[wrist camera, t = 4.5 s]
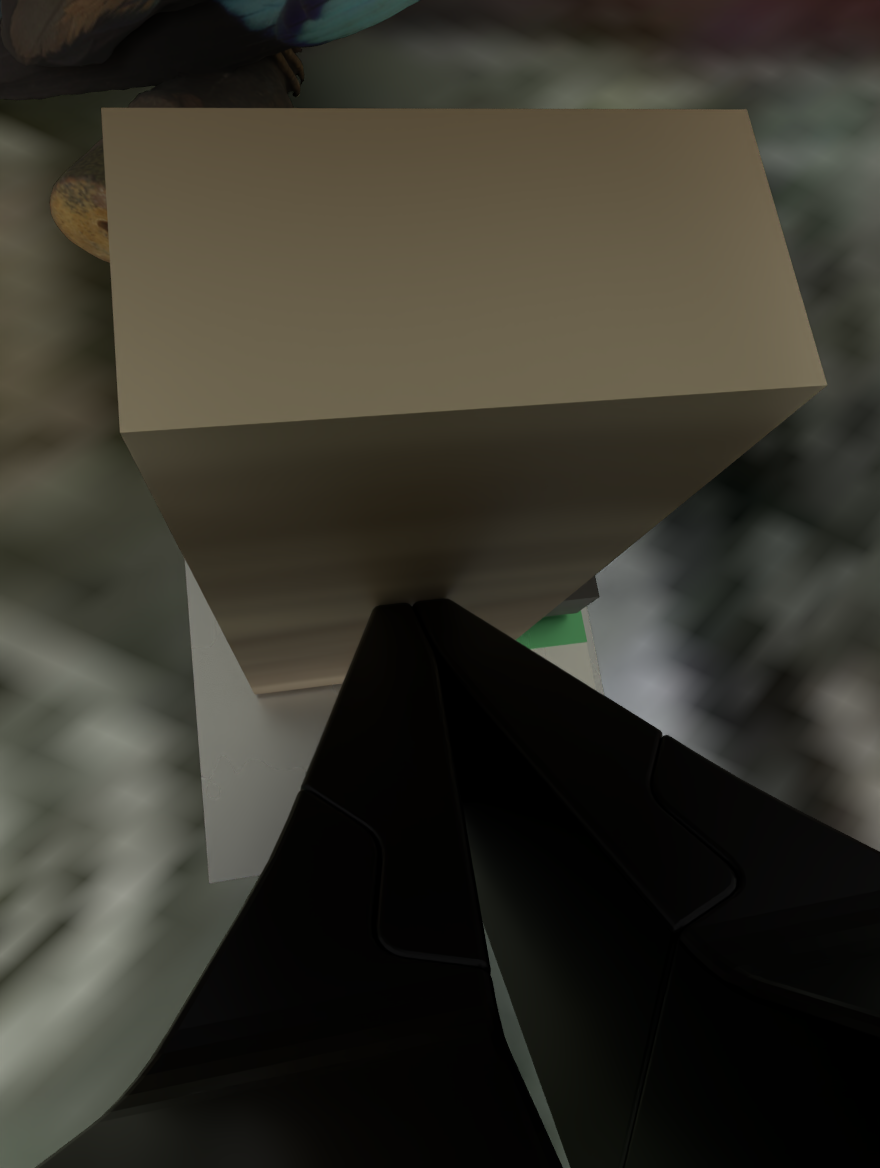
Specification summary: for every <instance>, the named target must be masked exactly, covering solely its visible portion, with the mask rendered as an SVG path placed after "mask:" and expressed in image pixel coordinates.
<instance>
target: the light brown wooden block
mask: <svg viewBox="0 0 880 1168" xmlns="http://www.w3.org/2000/svg"><path fill="white" fill-rule="evenodd" d="M101 114H102V132H103V149H104V166H105V183H106V201H107V218H108V235H109V252H110V270H111V287H112V304H113V321H114V339H115V356H116V373H117V390H118V408H119V425H120V434H121V436H122V438H123V440H124V442H125V444H126V446H127V448H128V449H129V451H130V453H131V455H132V457H133V459H134V461H135V463H136V465H137V467H138V469H139V471H140V473H141V475H142V477H143V479H144V481H145V482H146V484H147V486H148V488H149V490H150V492H151V494H152V496H153V498H154V500H155V502H156V504H157V506H158V508H159V510H160V512H161V514H162V515H163V517H164V519H165V521H166V523H167V525H168V527H169V529H170V531H171V533H172V535H173V537H174V539H175V541H176V543H177V545H178V547H179V549H180V550H181V552H182V554H183V556H184V558H185V560H186V562H187V564H188V566H189V568H190V570H191V572H192V574H193V576H194V578H195V580H196V582H197V583H198V585H199V587H200V589H201V591H202V593H203V595H204V597H205V599H206V601H207V603H208V605H209V607H210V609H211V611H212V613H213V615H214V617H215V618H216V620H217V622H218V624H219V626H220V628H221V630H222V632H223V634H224V636H225V638H226V640H227V642H228V644H229V646H230V648H231V650H232V651H233V653H234V655H235V657H236V659H237V661H238V663H239V665H240V667H241V669H242V671H243V673H244V675H245V677H246V679H247V681H248V683H249V684H250V686H251V688H252V690H253V692H254V694H263V693H271V692H279V691H287V690H295V689H302V688H310V687H318V686H326V685H334V684H342V683H343V681H344V679H345V676H346V674H347V671H348V669H349V666H350V664H351V661H352V659H353V656H354V654H355V651H356V649H357V646H358V644H359V642H360V639H361V637H362V634H363V632H364V629H365V627H366V624H367V622H368V619H369V617H370V614H371V612H372V610H373V608H375V607H376V606H379V605H388V604H397V603H408V604H410V605H411V606H413V604H414V603H415V602H418V601H424V600H433V599H442V598H447V599H450V600H452V601H454V602H455V603H457V604H459V605H460V606H462V607H463V608H465V609H467V610H468V611H470V612H471V613H473V614H475V615H476V616H478V617H479V618H481V619H483V620H484V621H486V622H487V623H489V624H491V625H492V626H494V627H495V628H497V629H499V630H500V631H502V632H503V633H505V634H507V635H508V636H510V637H511V638H513V639H515V640H516V639H517V638H519V637H520V636H521V635H522V634H524V633H525V632H526V631H527V630H528V629H530V628H531V627H532V626H533V625H535V624H536V623H537V622H538V621H539V620H541V619H542V618H543V617H548V616H557V615H565V614H574V613H578V612H579V611H580V610H582V609H583V608H585V607H586V606H587V605H589V604H590V603H591V602H593V601H594V600H596V599H597V598H598V597H599V593H598V588H597V583H596V578H595V575H596V574H597V573H598V572H599V571H601V570H602V569H603V568H604V567H606V566H607V565H608V564H609V563H610V562H612V561H613V560H614V559H615V558H617V557H618V556H619V555H620V554H621V553H623V552H624V551H625V550H626V549H628V548H629V547H630V546H631V545H632V544H634V543H635V542H636V541H637V540H639V539H640V538H641V537H642V536H643V535H645V534H646V533H647V532H648V531H650V530H651V529H652V528H653V527H654V526H656V525H657V524H658V523H659V522H661V521H662V520H663V519H664V518H666V517H667V516H668V515H669V514H670V513H672V512H673V511H674V510H675V509H677V508H678V507H679V506H680V505H681V504H683V503H684V502H685V501H686V500H688V499H689V498H690V497H691V496H692V495H694V494H695V493H696V492H697V491H699V490H700V489H701V488H702V487H703V486H705V485H706V484H707V483H708V482H710V481H711V480H712V479H713V478H714V477H716V476H717V475H718V474H719V473H721V472H722V471H723V470H724V469H725V468H727V467H728V466H729V465H730V464H732V463H733V462H734V461H735V460H736V459H738V458H739V457H740V456H741V455H743V454H744V453H745V452H746V451H747V450H749V449H750V448H751V447H752V446H754V445H755V444H756V443H757V442H759V441H760V440H761V439H762V438H763V437H765V436H766V435H767V434H768V433H770V432H771V431H772V430H773V429H774V428H776V427H777V426H778V425H779V424H781V423H782V422H783V421H784V420H785V419H787V418H788V417H789V416H790V415H792V414H793V413H794V412H795V411H796V410H798V409H799V408H800V407H801V406H803V405H804V404H805V403H806V402H807V401H809V400H810V399H811V398H812V397H814V396H815V395H816V394H817V393H818V392H820V391H821V390H822V389H823V388H825V387H826V386H827V382H826V379H825V375H824V372H823V369H822V365H821V362H820V358H819V355H818V352H817V348H816V345H815V341H814V338H813V334H812V331H811V328H810V324H809V321H808V317H807V314H806V311H805V307H804V304H803V300H802V297H801V293H800V290H799V287H798V283H797V280H796V276H795V273H794V269H793V266H792V263H791V259H790V256H789V252H788V249H787V246H786V242H785V239H784V235H783V232H782V228H781V225H780V222H779V218H778V215H777V211H776V208H775V204H774V201H773V198H772V194H771V191H770V187H769V184H768V181H767V177H766V174H765V170H764V167H763V163H762V160H761V157H760V153H759V150H758V146H757V143H756V139H755V136H754V133H753V129H752V126H751V122H750V119H749V116H748V112H747V110H720V109H376V108H101Z"/></svg>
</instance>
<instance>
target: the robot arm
mask: <svg viewBox="0 0 880 1168" xmlns="http://www.w3.org/2000/svg"><path fill="white" fill-rule="evenodd" d="M300 790H301V791H299V792H298V794H297V796H296V798H295V801H294V803H293V806H292V808H291V811H290V813H289V816H288V818H287V820H286V823H285V825H284V827H283V829H282V831H281V833H280V836H279V838H278V840H277V842H276V844H275V847H274V849H273V851H272V853H271V855H270V857H269V860H268V862H267V863H266V865H265V867H264V869H263V871H262V872H261V874H260V876H259V878H258V880H257V881H256V883H255V885H254V887H253V889H252V890H251V892H250V894H249V896H248V898H247V899H246V901H245V903H244V905H243V907H242V908H241V910H240V912H239V913H238V915H237V917H236V918H235V920H234V922H233V923H232V925H231V927H230V928H229V930H228V932H227V933H226V935H225V937H224V938H223V940H222V942H221V943H220V945H219V947H218V948H217V950H216V952H215V953H214V955H213V957H212V958H211V960H210V962H209V963H208V965H207V967H206V968H205V970H204V972H203V973H202V975H201V977H200V978H199V980H198V982H197V983H196V985H195V987H194V988H193V990H192V992H191V993H190V995H189V997H188V998H187V1000H186V1002H185V1003H184V1005H183V1007H182V1008H181V1010H180V1012H179V1013H178V1015H177V1017H176V1018H175V1020H174V1022H173V1023H172V1025H171V1027H170V1028H169V1030H168V1032H167V1033H166V1035H165V1037H164V1038H163V1040H162V1041H161V1043H160V1045H159V1046H158V1048H157V1049H156V1051H155V1053H154V1054H153V1056H152V1057H151V1059H150V1060H149V1062H148V1063H147V1064H146V1066H145V1067H144V1069H143V1070H142V1071H141V1073H140V1074H139V1075H138V1077H137V1078H136V1079H135V1081H134V1082H133V1083H132V1084H131V1085H130V1086H129V1088H128V1089H127V1090H126V1091H125V1092H124V1093H123V1095H122V1096H121V1097H120V1098H119V1099H118V1100H117V1101H116V1102H115V1103H114V1104H113V1105H112V1106H111V1107H110V1108H109V1109H108V1110H107V1111H106V1112H105V1113H104V1115H103V1116H102V1117H100V1118H99V1119H98V1120H97V1121H95V1122H94V1123H93V1124H92V1125H91V1126H89V1127H88V1128H87V1129H85V1130H84V1131H83V1132H81V1133H80V1134H79V1135H77V1136H76V1137H75V1138H73V1139H72V1140H71V1141H69V1142H68V1143H67V1144H65V1145H64V1146H63V1147H62V1148H60V1149H59V1150H58V1151H56V1152H55V1153H54V1154H52V1155H51V1156H50V1157H48V1158H47V1159H46V1160H44V1161H43V1162H42V1163H40V1164H39V1165H38V1166H36V1167H35V1168H563V1167H562V1165H561V1163H560V1160H559V1158H558V1156H557V1154H556V1151H555V1149H554V1147H553V1145H552V1143H551V1140H550V1138H549V1136H548V1134H547V1131H546V1129H545V1127H544V1125H543V1123H542V1120H541V1118H540V1116H539V1114H538V1111H537V1109H536V1107H535V1105H534V1103H533V1100H532V1098H531V1096H530V1094H529V1091H528V1089H527V1087H526V1085H525V1083H524V1080H523V1078H522V1076H521V1074H520V1072H519V1069H518V1067H517V1065H516V1063H515V1060H514V1058H513V1056H512V1054H511V1052H510V1049H509V1047H508V1044H507V1042H506V1039H505V1036H504V1032H503V1029H502V1025H501V1021H500V1017H499V1012H498V1007H497V1003H496V998H495V992H494V987H493V981H492V978H491V976H490V974H491V968H490V962H489V957H488V951H487V945H486V939H485V933H484V927H485V929H486V932H487V935H488V938H489V941H490V943H491V946H492V949H493V952H494V955H495V957H496V960H497V963H498V966H499V969H500V971H501V974H502V977H503V980H504V983H505V985H506V988H507V991H508V994H509V997H510V999H511V1002H512V1005H513V1008H514V1011H515V1013H516V1016H517V1019H518V1022H519V1025H520V1027H521V1030H522V1033H523V1036H524V1039H525V1041H526V1044H527V1047H528V1050H529V1053H530V1055H531V1058H532V1061H533V1064H534V1067H535V1069H536V1072H537V1075H538V1078H539V1081H540V1083H541V1086H542V1089H543V1092H544V1095H545V1097H546V1100H547V1103H548V1106H549V1109H550V1111H551V1114H552V1117H553V1120H554V1123H555V1125H556V1128H557V1131H558V1134H559V1137H560V1139H561V1142H562V1145H563V1148H564V1151H565V1153H566V1156H567V1159H568V1162H569V1165H570V1167H571V1168H880V852H879V851H877V850H875V849H873V848H871V847H869V846H867V845H865V844H863V843H861V842H859V841H858V840H856V839H854V838H852V837H850V836H848V835H846V834H844V833H842V832H840V831H838V830H836V829H834V828H832V827H830V826H828V825H826V824H824V823H822V822H821V821H819V820H817V819H815V818H813V817H811V816H809V815H807V814H805V813H803V812H801V811H799V810H797V809H795V808H793V807H792V806H790V805H788V804H786V803H784V802H782V801H780V800H779V799H777V798H775V797H773V796H771V795H769V794H767V793H766V792H764V791H762V790H760V789H758V788H756V787H754V786H753V785H751V784H749V783H747V782H745V781H743V780H741V779H740V778H738V777H736V776H735V775H733V774H731V773H730V772H728V771H726V770H725V769H723V768H721V767H720V766H718V765H716V764H714V763H713V762H711V761H709V760H708V759H706V758H704V757H703V756H701V755H699V754H698V753H696V752H694V751H693V750H691V749H690V748H688V747H686V746H685V745H683V744H682V743H680V742H678V741H677V740H675V739H674V738H672V737H670V736H669V735H664V736H663V737H662V732H661V731H660V730H659V729H657V728H655V727H654V726H652V725H651V724H649V723H647V722H646V721H644V720H643V719H641V718H639V717H638V716H636V715H635V714H633V713H631V712H630V711H628V710H627V709H625V708H623V707H622V706H620V705H619V704H617V703H615V702H614V701H612V700H611V699H609V698H607V697H606V696H604V695H603V694H601V693H599V692H598V691H596V690H595V689H593V688H591V687H590V686H588V685H587V684H585V683H583V682H582V681H580V680H579V679H577V678H575V677H574V676H572V675H571V674H569V673H567V672H566V671H564V670H563V669H561V668H559V667H558V666H556V665H555V664H553V663H551V662H550V661H548V660H547V659H545V658H543V657H542V656H540V655H539V654H537V653H535V652H534V651H532V650H531V649H529V648H527V647H526V646H524V645H523V644H521V643H519V642H518V641H516V640H515V639H513V638H511V637H510V636H508V635H507V634H505V633H503V632H502V631H500V630H499V629H497V628H495V627H494V626H492V625H491V624H489V623H487V622H486V621H484V620H483V619H481V618H479V617H478V616H476V615H475V614H473V613H471V612H470V611H468V610H467V609H465V608H463V607H462V606H460V605H459V604H457V603H455V602H454V601H452V600H450V599H447V598H442V599H433V600H424V601H418V602H415V603H414V604H413V606H411V605H410V604H408V603H397V604H388V605H379V606H376V607H375V608H373V610H372V612H371V614H370V617H369V619H368V622H367V624H366V627H365V629H364V632H363V634H362V637H361V639H360V642H359V644H358V646H357V649H356V651H355V654H354V656H353V659H352V661H351V664H350V666H349V669H348V671H347V674H346V676H345V679H344V681H343V683H342V686H341V688H340V691H339V693H338V696H337V698H336V701H335V703H334V706H333V708H332V711H331V713H330V716H329V718H328V720H327V723H326V725H325V728H324V730H323V733H322V735H321V738H320V740H319V743H318V745H317V748H316V750H315V753H314V755H313V757H312V760H311V762H310V765H309V767H308V770H307V772H306V775H305V777H304V780H303V782H302V785H301V789H300ZM483 924H484V927H483Z"/></svg>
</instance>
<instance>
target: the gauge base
mask: <svg viewBox="0 0 880 1168" xmlns="http://www.w3.org/2000/svg"><path fill="white" fill-rule="evenodd" d="M185 570H186V583H187V596H188V609H189V622H190V636H191V649H192V662H193V675H194V688H195V701H196V715H197V728H198V741H199V754H200V767H201V781H202V794H203V807H204V820H205V833H206V846H207V860H208V873H209V884H210V883H216V882H222V881H228V880H234V879H240V878H246V877H252V876H258V875H260V874H261V872H262V871H263V869H264V867H265V865H266V863H267V862H268V860H269V857H270V855H271V853H272V851H273V849H274V847H275V844H276V842H277V840H278V838H279V836H280V833H281V831H282V829H283V827H284V825H285V823H286V820H287V818H288V816H289V813H290V811H291V808H292V806H293V803H294V801H295V798H296V796H297V794H298V792H299V791H301V790H300V789H301V785H302V782H303V780H304V777H305V775H306V772H307V770H308V767H309V765H310V762H311V760H312V757H313V755H314V753H315V750H316V748H317V745H318V743H319V740H320V738H321V735H322V733H323V730H324V728H325V725H326V723H327V720H328V718H329V716H330V713H331V711H332V708H333V706H334V703H335V701H336V698H337V696H338V693H339V691H340V688H341V686H342V684H334V685H326V686H318V687H310V688H302V689H295V690H287V691H279V692H271V693H263V694H254V692H253V690H252V688H251V686H250V684H249V683H248V681H247V679H246V677H245V675H244V673H243V671H242V669H241V667H240V665H239V663H238V661H237V659H236V657H235V655H234V653H233V651H232V650H231V648H230V646H229V644H228V642H227V640H226V638H225V636H224V634H223V632H222V630H221V628H220V626H219V624H218V622H217V620H216V618H215V617H214V615H213V613H212V611H211V609H210V607H209V605H208V603H207V601H206V599H205V597H204V595H203V593H202V591H201V589H200V587H199V585H198V583H197V582H196V580H195V578H194V576H193V574H192V572H191V570H190V568H189V566H188V564H187V562H186V560H185ZM516 641H518V642H519V643H521V644H523V645H524V646H526V647H527V648H529V649H531V650H532V651H534V652H535V653H537V654H539V655H540V656H542V657H543V658H545V659H547V660H548V661H550V662H551V663H553V664H555V665H556V666H558V667H559V668H561V669H563V670H564V671H566V672H567V673H569V674H571V675H572V676H574V677H575V678H577V679H579V680H580V681H582V682H583V683H585V684H587V685H588V686H590V687H591V688H593V689H595V690H596V691H598V692H599V693H601V694H603V695H604V691H603V686H602V681H601V676H600V671H599V666H598V661H597V656H596V651H595V646H594V641H593V636H592V631H591V626H590V621H589V616H588V611H587V606H586V607H585V608H583V609H582V610H580V611H579V612H578V613H574V614H565V615H557V616H548V617H543V618H542V619H541V620H539V621H538V622H537V623H536V624H535V625H533V626H532V627H531V628H530V629H528V630H527V631H526V632H525V633H524V634H522V635H521V636H520V637H519V638H517V639H516Z"/></svg>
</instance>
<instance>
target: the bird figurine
mask: <svg viewBox="0 0 880 1168" xmlns="http://www.w3.org/2000/svg"><path fill="white" fill-rule="evenodd" d="M418 1H420V0H0V99H10V100H26V99H45V98H49V97H54V96H59V95H67V94H71V95H73V94H84V93H88V92H99V91H108V90H125V89H129V88H135V87H146V86H151V85H152V86H155V87H154V88H153V89H151V90H150V91H146V92H143V93H139V94H138V95H137V97H136V98H135V99H134V100H133V101H132V102H131V103H130V104H129V106H128V108H294V107H293V105H292V103H291V100H290V98H289V97H288V95H287V94H288V93H289V92H290V91H292V92H294V93H293V96H295V97H297V96H299V94H300V85H301V84H302V82H303V81H304V70H303V65H302V63H301V61H300V59H299V58H298V57H297V55H296V54H295V53H298V52H301V51H302V49H301V47H312V46H318V45H322V44H324V43H327V42H330V41H333V40H336V39H340V38H343V37H347V36H349V35H352V34H354V33H357V32H359V31H361V30H363V29H366V28H368V27H371V26H374V25H376V24H378V23H380V22H382V21H384V20H386V19H388V18H390V17H392V16H393V15H395V14H397V13H398V12H400V11H402V10H403V9H405V8H407V7H408V6H410V5H412V4H414V3H416V2H418ZM296 75H298V76H299V78H300V79H301V82H300V84H299V81H298V79H297V77H296ZM49 203H50V209H51V215H52V217H53V219H54V221H55V223H56V225H57V226H58V227H59V229H60V230H61V231H62V232H63V233H64V235H65V236H66V237H67V238H68V239H69V240H70V241H72V242H73V243H75V244H76V245H78V246H79V247H80V248H82V249H84V250H85V251H87V252H88V253H90V254H92V255H94V256H96V257H97V258H99V259H101V260H104V261H106V262H109V263H110V252H109V235H108V218H107V201H106V183H105V166H104V149H103V138H102V139H101V140H100V141H98V142H97V143H96V144H95V145H94V146H93V147H92V148H91V149H90V150H89V152H88V153H86V154H85V155H84V156H82V157H81V158H80V159H79V160H77V161H76V162H75V163H74V164H73V165H72V166H71V167H70V168H69V169H68V170H66V171H65V172H64V174H63V175H62V176H61V177H60V178H59V179H58V180H57V181H56V183H55V184H54V187H53V190H52V193H51V196H50V202H49Z"/></svg>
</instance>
